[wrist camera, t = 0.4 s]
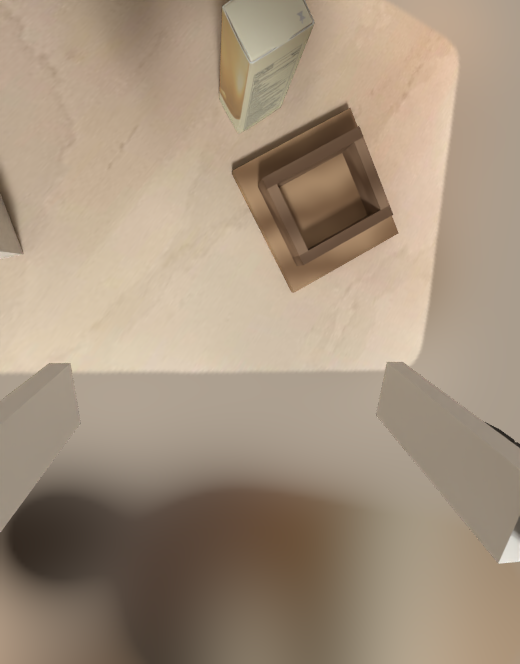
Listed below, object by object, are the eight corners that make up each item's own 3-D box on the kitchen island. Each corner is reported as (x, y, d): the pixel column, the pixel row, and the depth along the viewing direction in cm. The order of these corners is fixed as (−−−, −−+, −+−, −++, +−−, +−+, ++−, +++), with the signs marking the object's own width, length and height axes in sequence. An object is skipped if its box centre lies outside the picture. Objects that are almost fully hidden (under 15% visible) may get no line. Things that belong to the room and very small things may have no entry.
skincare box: (262, 70, 34) (291, -42, 22) (281, 108, 35) (319, 20, 23) (215, 99, 33) (219, 2, 22) (236, 136, 35) (251, 63, 23)
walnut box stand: (232, 173, 35) (235, 160, 31) (345, 113, 36) (363, 92, 32) (291, 292, 39) (301, 293, 35) (392, 234, 40) (413, 229, 36)
